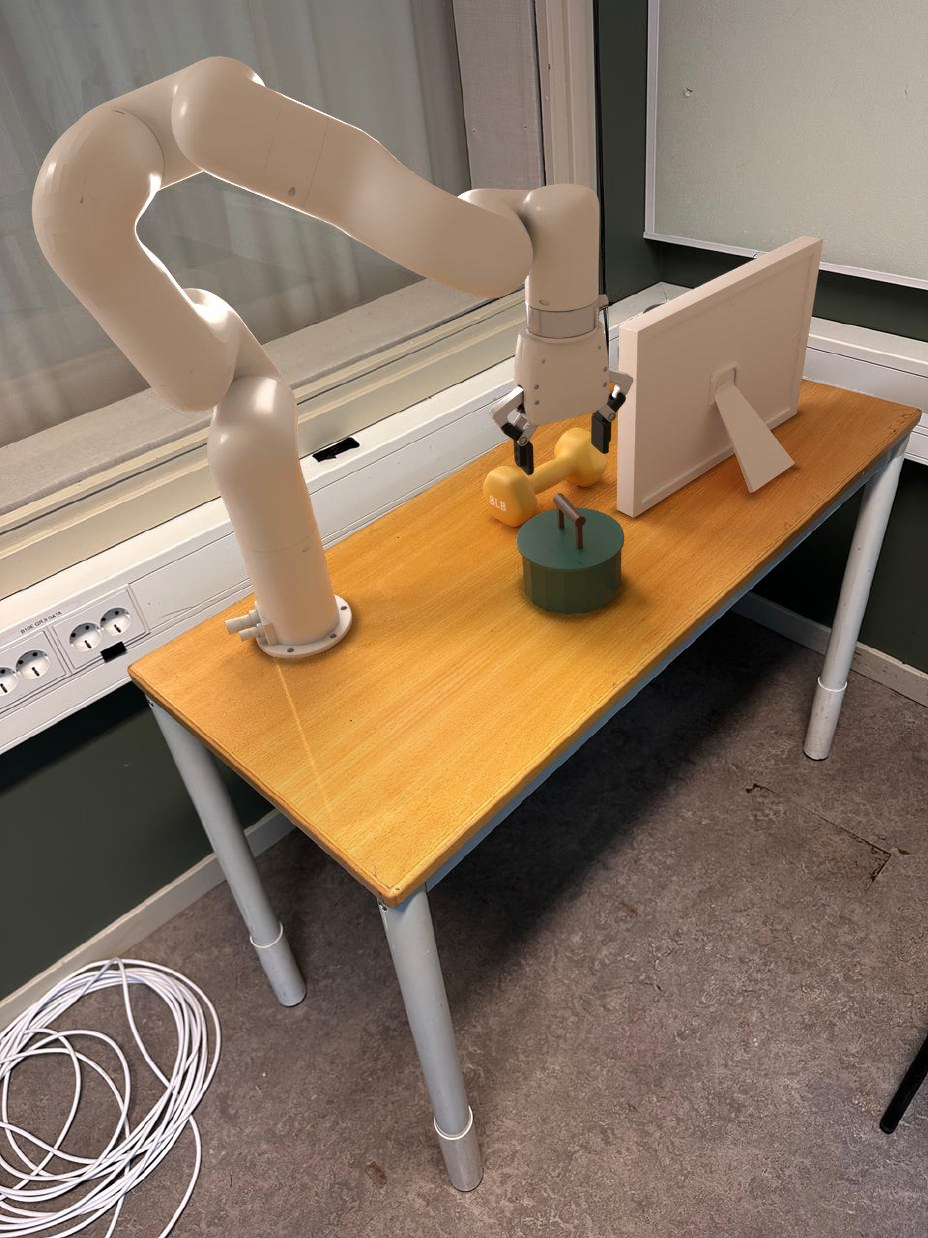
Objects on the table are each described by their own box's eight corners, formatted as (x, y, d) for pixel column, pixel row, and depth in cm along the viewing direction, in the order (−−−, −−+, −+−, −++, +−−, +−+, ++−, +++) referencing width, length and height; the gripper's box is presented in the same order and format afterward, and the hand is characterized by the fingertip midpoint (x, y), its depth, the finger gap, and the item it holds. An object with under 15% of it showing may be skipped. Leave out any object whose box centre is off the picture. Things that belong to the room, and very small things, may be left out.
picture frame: (780, 407, 147) (804, 234, 129) (849, 430, 139) (885, 250, 121) (616, 510, 129) (618, 325, 111) (686, 543, 121) (700, 350, 103)
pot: (550, 628, 110) (547, 581, 106) (509, 575, 120) (505, 529, 115) (637, 598, 113) (639, 550, 108) (591, 548, 122) (591, 502, 118)
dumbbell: (519, 539, 126) (515, 489, 120) (478, 515, 131) (473, 466, 126) (613, 485, 134) (613, 437, 129) (571, 464, 140) (570, 417, 134)
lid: (545, 589, 105) (543, 548, 102) (500, 532, 115) (496, 494, 112) (644, 555, 108) (646, 515, 105) (592, 503, 118) (591, 465, 115)
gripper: (616, 287, 98) (612, 427, 109) (472, 321, 94) (482, 463, 105) (652, 309, 93) (644, 454, 104) (500, 346, 89) (508, 493, 99)
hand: (563, 459), depth 104 cm, fingers open, 9 cm apart
